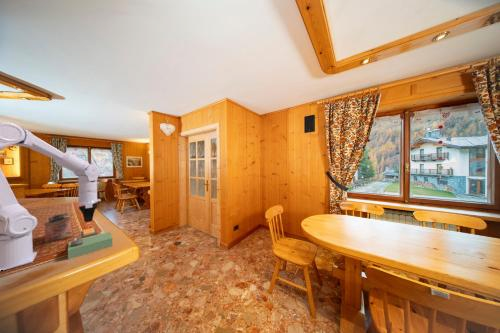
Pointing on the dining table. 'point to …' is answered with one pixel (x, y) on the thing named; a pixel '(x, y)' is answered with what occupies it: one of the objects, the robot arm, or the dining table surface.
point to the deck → (89, 244)
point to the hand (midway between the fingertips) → (88, 221)
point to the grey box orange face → (88, 233)
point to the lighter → (57, 227)
